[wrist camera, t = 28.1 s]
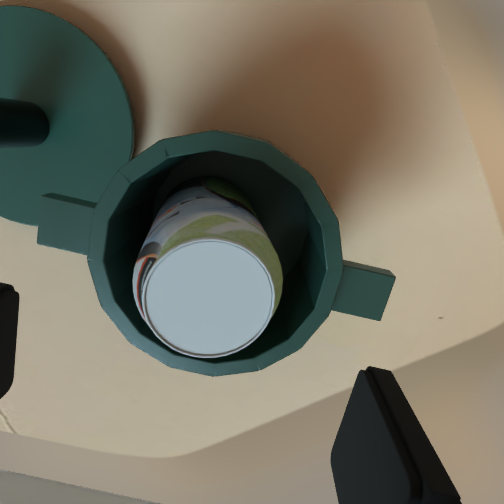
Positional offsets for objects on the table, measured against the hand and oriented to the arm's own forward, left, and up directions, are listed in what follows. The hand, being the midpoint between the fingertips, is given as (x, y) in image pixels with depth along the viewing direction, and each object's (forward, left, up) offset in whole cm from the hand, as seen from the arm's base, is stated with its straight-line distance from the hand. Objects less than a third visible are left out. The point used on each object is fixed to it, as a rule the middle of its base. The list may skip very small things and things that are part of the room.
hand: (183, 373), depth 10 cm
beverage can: (0, +1, -16) cm, 16 cm away
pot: (0, 0, -16) cm, 16 cm away
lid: (+4, +13, -16) cm, 21 cm away
